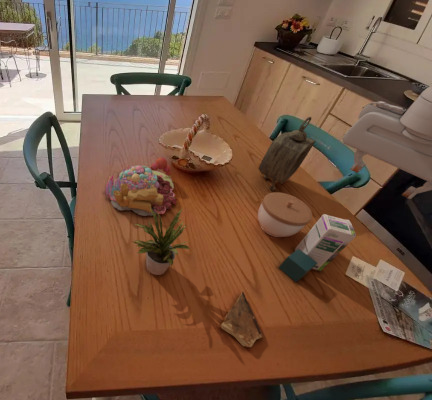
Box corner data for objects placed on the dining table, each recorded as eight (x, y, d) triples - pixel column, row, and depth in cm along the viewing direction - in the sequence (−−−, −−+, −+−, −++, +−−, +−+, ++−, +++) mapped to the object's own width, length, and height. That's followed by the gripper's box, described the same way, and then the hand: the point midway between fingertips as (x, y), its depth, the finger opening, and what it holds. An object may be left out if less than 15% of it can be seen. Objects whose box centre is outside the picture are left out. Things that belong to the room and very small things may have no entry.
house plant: (142, 233, 77) (151, 190, 66) (189, 253, 72) (207, 211, 61) (120, 270, 67) (126, 227, 56) (172, 296, 63) (189, 255, 52)
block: (306, 273, 70) (317, 262, 66) (296, 282, 68) (306, 271, 64) (289, 259, 73) (298, 248, 69) (278, 267, 71) (287, 256, 67)
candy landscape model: (181, 219, 82) (189, 197, 76) (104, 216, 81) (105, 193, 75) (169, 171, 100) (174, 149, 94) (106, 168, 99) (107, 146, 93)
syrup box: (297, 265, 72) (330, 229, 62) (293, 248, 76) (324, 212, 66) (320, 271, 71) (357, 236, 61) (316, 254, 75) (350, 219, 65)
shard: (240, 294, 64) (243, 290, 63) (272, 317, 61) (275, 314, 59) (218, 326, 58) (221, 322, 57) (252, 354, 55) (255, 350, 53)
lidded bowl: (267, 247, 76) (286, 220, 68) (243, 215, 85) (257, 189, 77) (305, 241, 78) (327, 215, 71) (277, 211, 87) (294, 185, 80)
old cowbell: (274, 195, 93) (314, 129, 76) (249, 182, 98) (283, 117, 81) (291, 179, 100) (331, 116, 84) (267, 168, 105) (301, 106, 88)
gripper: (363, 100, 51) (320, 161, 60) (520, 153, 38) (435, 219, 47) (378, 94, 53) (335, 154, 63) (529, 143, 41) (447, 208, 50)
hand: (379, 182), depth 55 cm, fingers open, 8 cm apart
